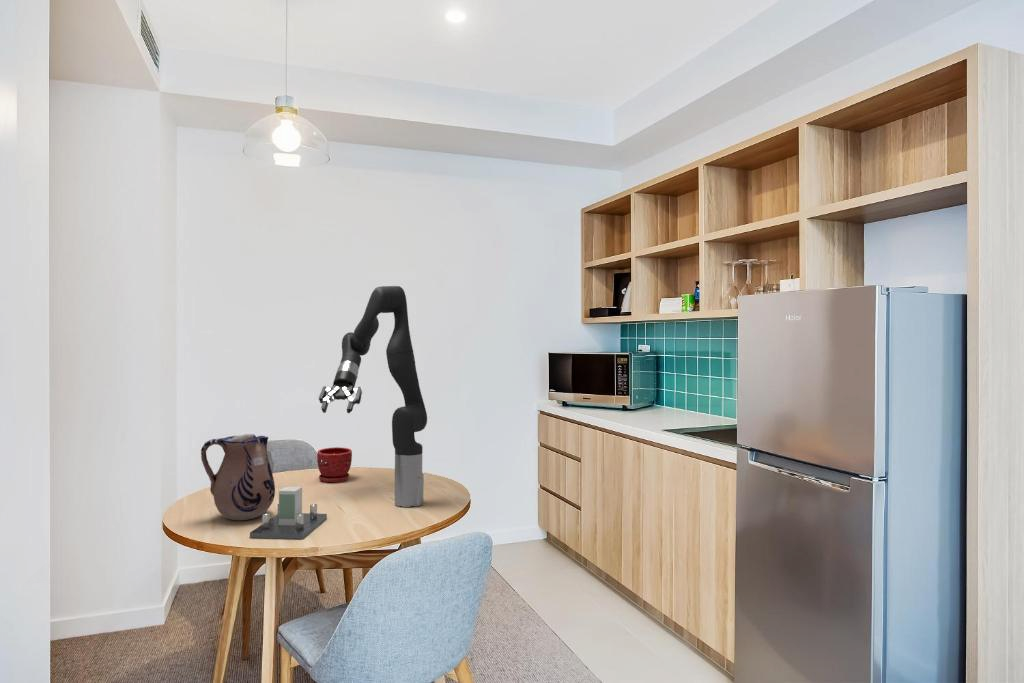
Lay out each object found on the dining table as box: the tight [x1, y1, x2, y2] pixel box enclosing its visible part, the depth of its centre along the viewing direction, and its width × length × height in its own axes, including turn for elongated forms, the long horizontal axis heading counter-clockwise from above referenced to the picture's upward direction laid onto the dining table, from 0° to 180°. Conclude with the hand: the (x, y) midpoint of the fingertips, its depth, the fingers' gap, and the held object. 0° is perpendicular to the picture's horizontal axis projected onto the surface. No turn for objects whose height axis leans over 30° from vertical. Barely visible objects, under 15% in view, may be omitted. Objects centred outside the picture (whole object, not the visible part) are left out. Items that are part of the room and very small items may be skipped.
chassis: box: [249, 503, 328, 540], centre depth 186 cm, size 15×20×6 cm
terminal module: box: [278, 486, 303, 525], centre depth 186 cm, size 5×5×10 cm
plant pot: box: [316, 446, 353, 483], centre depth 247 cm, size 13×13×12 cm
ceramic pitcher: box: [200, 433, 276, 521], centre depth 196 cm, size 18×21×25 cm
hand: (335, 411), depth 217 cm, fingers open, 8 cm apart
